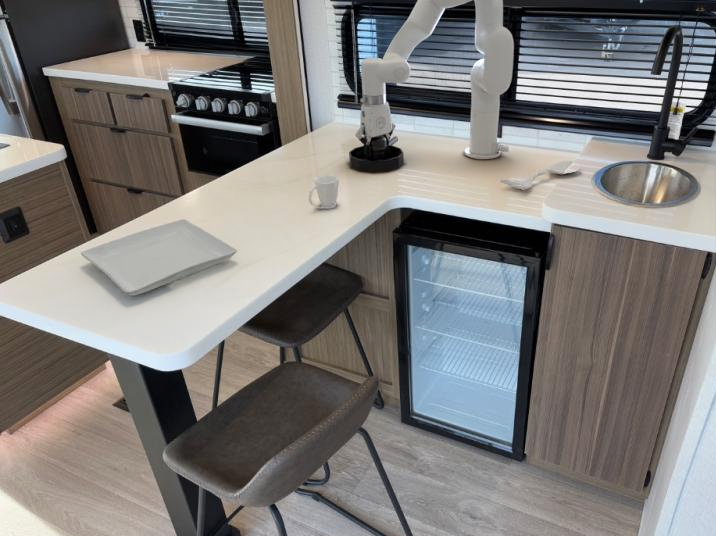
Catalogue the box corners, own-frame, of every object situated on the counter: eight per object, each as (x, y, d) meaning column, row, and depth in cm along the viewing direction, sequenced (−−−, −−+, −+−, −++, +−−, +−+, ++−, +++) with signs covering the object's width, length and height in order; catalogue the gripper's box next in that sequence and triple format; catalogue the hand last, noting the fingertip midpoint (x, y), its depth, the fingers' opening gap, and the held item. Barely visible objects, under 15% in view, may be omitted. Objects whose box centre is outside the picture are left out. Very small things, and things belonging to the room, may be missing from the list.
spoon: (498, 189, 184) (499, 178, 182) (563, 165, 201) (564, 155, 199) (521, 197, 178) (522, 186, 176) (586, 172, 195) (587, 162, 193)
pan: (418, 150, 218) (418, 138, 216) (391, 175, 196) (391, 162, 194) (373, 145, 223) (372, 134, 221) (341, 169, 201) (340, 157, 199)
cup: (345, 205, 175) (343, 179, 170) (318, 215, 169) (315, 188, 164) (330, 199, 179) (328, 173, 175) (303, 209, 173) (300, 182, 169)
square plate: (82, 265, 146) (78, 250, 144) (187, 230, 162) (184, 216, 160) (130, 306, 129) (125, 290, 127) (241, 262, 145) (238, 248, 143)
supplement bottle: (365, 161, 208) (363, 126, 201) (384, 159, 209) (382, 124, 203) (370, 168, 202) (368, 132, 196) (389, 165, 204) (388, 130, 197)
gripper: (359, 106, 187) (362, 161, 197) (402, 96, 197) (403, 150, 206) (345, 102, 192) (349, 156, 202) (388, 93, 202) (389, 145, 211)
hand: (376, 152), depth 204 cm, fingers closed on supplement bottle, 6 cm apart
